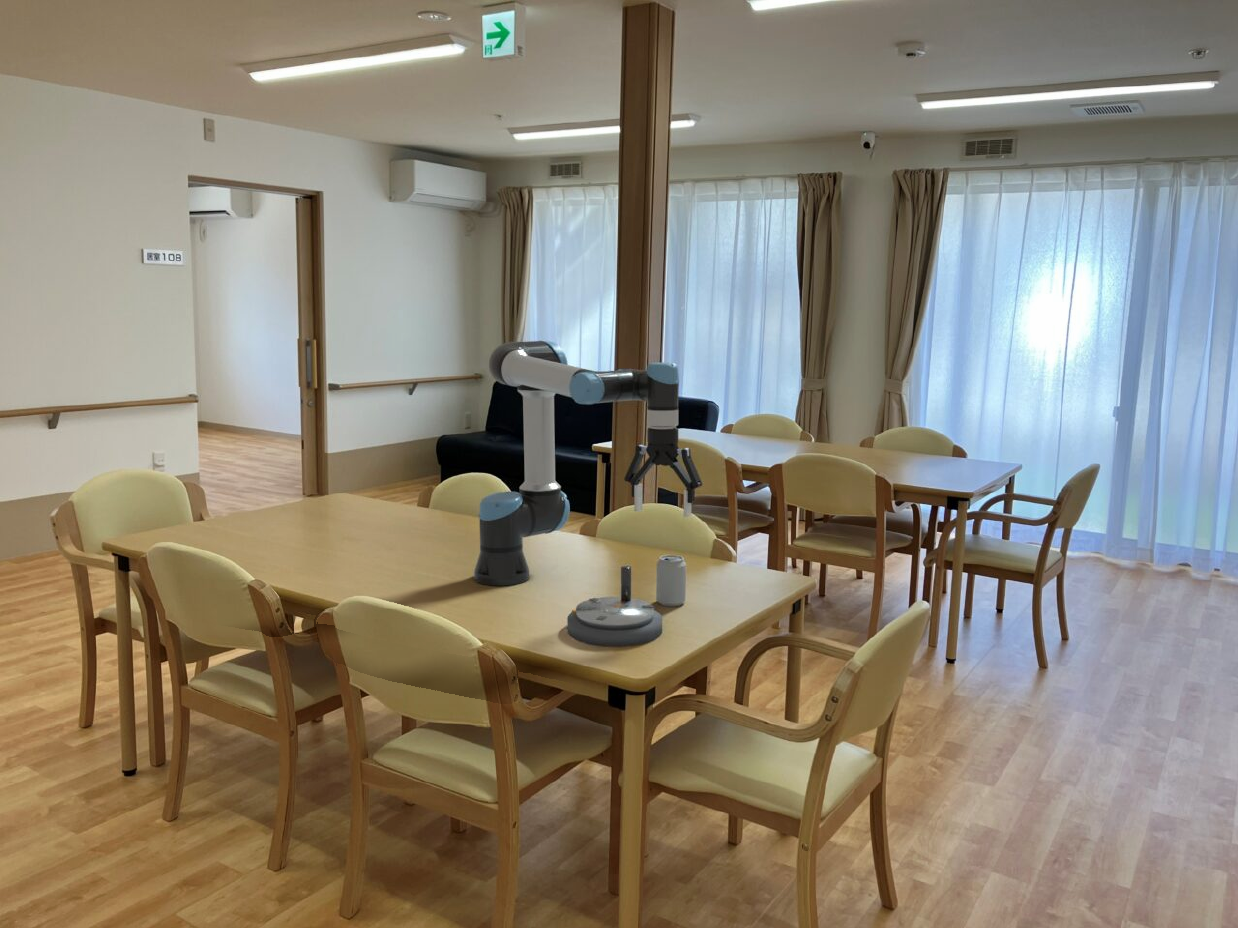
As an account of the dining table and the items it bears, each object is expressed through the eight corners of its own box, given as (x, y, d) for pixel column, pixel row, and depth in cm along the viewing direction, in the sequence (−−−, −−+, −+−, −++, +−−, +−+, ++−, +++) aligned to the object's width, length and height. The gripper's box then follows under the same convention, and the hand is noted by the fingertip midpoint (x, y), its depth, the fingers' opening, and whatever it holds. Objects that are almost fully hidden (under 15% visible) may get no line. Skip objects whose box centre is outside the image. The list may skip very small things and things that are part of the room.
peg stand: (580, 630, 214) (580, 587, 212) (572, 606, 232) (572, 565, 230) (660, 627, 217) (660, 584, 215) (646, 603, 234) (646, 563, 233)
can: (654, 598, 249) (655, 553, 247) (683, 598, 250) (684, 553, 248) (658, 607, 242) (658, 561, 240) (687, 607, 242) (688, 560, 240)
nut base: (572, 648, 212) (572, 633, 212) (563, 617, 234) (563, 602, 233) (670, 644, 215) (670, 628, 215) (653, 613, 237) (653, 599, 236)
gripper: (716, 428, 231) (715, 515, 234) (626, 422, 243) (626, 505, 246) (702, 431, 224) (701, 521, 227) (610, 425, 237) (611, 510, 240)
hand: (662, 513), depth 237 cm, fingers open, 13 cm apart
